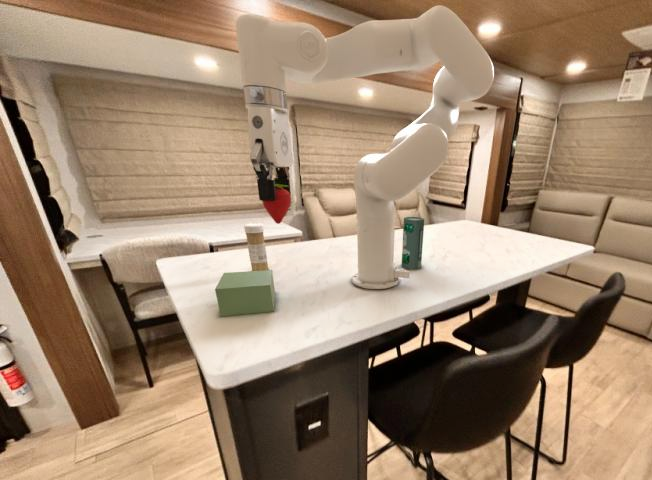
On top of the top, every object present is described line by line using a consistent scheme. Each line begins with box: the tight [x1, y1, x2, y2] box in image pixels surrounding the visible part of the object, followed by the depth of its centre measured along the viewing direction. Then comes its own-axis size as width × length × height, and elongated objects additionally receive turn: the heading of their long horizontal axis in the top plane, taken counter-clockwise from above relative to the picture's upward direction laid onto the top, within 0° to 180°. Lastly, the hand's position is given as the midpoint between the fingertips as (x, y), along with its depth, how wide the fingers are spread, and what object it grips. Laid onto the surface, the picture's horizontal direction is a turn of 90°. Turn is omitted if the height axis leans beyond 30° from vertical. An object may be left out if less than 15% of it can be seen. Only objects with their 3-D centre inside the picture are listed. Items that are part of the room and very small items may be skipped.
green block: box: [214, 269, 276, 317], centre depth 67 cm, size 10×10×6 cm
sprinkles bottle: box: [243, 222, 270, 271], centre depth 85 cm, size 5×5×14 cm
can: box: [401, 216, 425, 271], centre depth 95 cm, size 6×6×15 cm
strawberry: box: [261, 175, 292, 225], centre depth 66 cm, size 6×8×10 cm
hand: (276, 198), depth 66 cm, fingers closed on strawberry, 7 cm apart
